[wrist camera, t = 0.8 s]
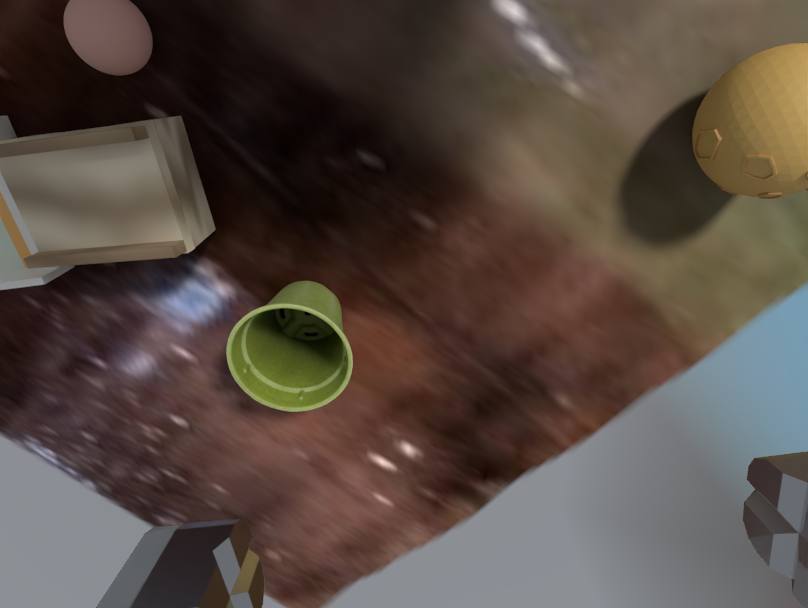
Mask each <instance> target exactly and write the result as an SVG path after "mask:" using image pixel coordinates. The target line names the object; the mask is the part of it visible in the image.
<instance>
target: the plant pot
mask: <svg viewBox="0 0 808 608" xmlns="http://www.w3.org/2000/svg"><path fill="white" fill-rule="evenodd" d="M280 308H284V315H285V319H283V318H282V317H281V315H280ZM305 311H306V312H309V313H311V314H310V315H305ZM317 332H318V335H316V336H306V335H304V333H317ZM226 355H227V362H228V366H229V369H230V372H231V374H232V376H233V378H234V379H235V381H236V382H237V383H238V385H239V386H240V387H241V388H242V389H243V391H244V392H246V393H247V394H248V395H249V396H251V397H252V398H253V399H254V400H256V401H258V402H260V403H261V404H263V405H266V406H268V407H271V408H274V409H278V410H283V411H290V412H297V411H298V412H299V411H308V410H312V409H315V408H318V407H321V406H323V405H325V404H327V403H329V402H330V401H332V400H333V399H335V398H336V397H337V396H338V395H339V394H340V393H341V392H342V391H343V390H344V388H345V387H346V385H347V384H348V382H349V379H350V376H351V373H352V366H353V357H352V351H351V347H350V345H349V342H348V340H347V338H346V336H345V335H344V333H343V326H342V313H341V306H340V303H339V301H338V299H337V297H336V296H335V295H334V294H333V293H332V292H331V291H330V290H328V289H327V288H326V287H325V286H323V285H322V284H319V283H317V282H312V281H298V282H294V283H291V284H289V285H288V286H286V287H285V288H283V289H282V290H281V291H280V292H279V293H278V294H277V295H276V296H275V297H274V298H273V299H272V300H271V301H270V302H269V303H268V304H267V305H265V306H262V307H260V308H257V309H255V310H253V311H251V312H250V313H248V314H247V315H245V316H244V317H243V318H242V319H241V320H240V321H239V322H238V323H237V324H236V325H235V327H234V328H233V330H232V332H231V333H230V336H229V338H228V342H227V349H226Z"/></svg>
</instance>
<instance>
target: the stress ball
mask: <svg viewBox="0 0 808 608" xmlns="http://www.w3.org/2000/svg"><path fill="white" fill-rule="evenodd" d="M692 143H693V151H694V154H695V157H696V159H697V162H698V164H699V165H700V167H701V169H702V170H703V171H704V173H705V174H706V175H707V176H708V177H709V178H710V179H711V180H712V181H713V182H715V184H716V186H718V187H719V188H720V189H721V190H723V191H726V192H728V193H730V194H741V195H746V196H752V197H759V198H760V199H773V198H778V197H783V195H787V194H791V193H795V192H798V191H801V190H804V189H806V190H808V43H797V44H788V45H782V46H778V47H774V48H770V49H767V50H765V51H762V52H759V53H757V54H755V55H753V56H751V57H749V58H747V59H745V60H743V61H742V62H740V63H739V64H737V65H735V66H734V67H733V68H731V69H730V70H729V71H728V72H726V73H725V74H724V75H723V76H722V77H721V78H720V79H719V80H718V81H717V82H716V83H715V84H714V85H713V87H712V88H711V89H710V90H709V91H708V93H707V94H706V96H705V98H704V99H703V101H702V103H701V105H700V107H699V109H698V111H697V114H696V117H695V120H694V125H693V130H692Z"/></svg>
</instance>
